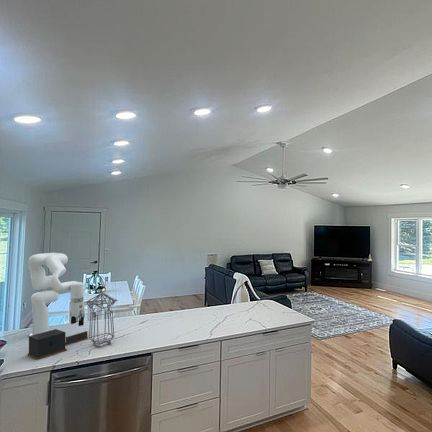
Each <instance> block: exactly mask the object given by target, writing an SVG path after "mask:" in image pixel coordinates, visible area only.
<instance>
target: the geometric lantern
mask: <svg viewBox="0 0 432 432" xmlns="http://www.w3.org/2000/svg"><path fill="white" fill-rule="evenodd" d="M107 299H108V300H109V302H107ZM118 301H119V300H118V299H116V298H115V297H112V296H111V295H109V294H107V293H105V292H101V293H99V294H96V295H95V296H94V297H92V298H90V299H89V300H87V301H85V303H86V304H87V306H88V307H89V310H90V315H89V316H90V317H89V330H88V339H89V340H90V341H91V342H92V343H93V345H94V346H95V347H96V348H101V347H105V346H108V345H111V341H112V340H113V339H114V338H115V327H114V311H113V308H112V306H114V305H115V303H116V302H118ZM104 305H106V306H104ZM93 307H94V308H93ZM97 307H98V308H100V310H98V311H95V309H96V308H97ZM106 308H107V309H106ZM103 311H104V313H101V314H99V313H100V312H103ZM107 311H108V312H107ZM96 313H97V314H96ZM99 316H104V333H101V334H99ZM94 317H96V318H94ZM109 317H110V318H109ZM93 322H94V323H93ZM106 325H107V326H106ZM106 327H107V328H106ZM96 328H97V329H96ZM106 329H108V332H106V331H107V330H106ZM110 329H111V330H110ZM95 331H96V333H97V334H96V333H95ZM110 332H111V333H110ZM103 335H104V336H103ZM106 335H107V336H106ZM99 336H103V338H99ZM108 336H111V337H109V338H108ZM95 338H97V339H96V340H95ZM104 343H107V344H104ZM96 344H97V345H96ZM101 344H103V345H101Z"/></svg>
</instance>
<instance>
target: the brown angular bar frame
mask: <svg viewBox="0 0 432 432" xmlns="http://www.w3.org/2000/svg"><path fill="white" fill-rule="evenodd" d="M87 339H88V330H85V331H81V332H78V333H75V334H72V335H69V336H68V335H67V336H65V346H68V345H71V344H74V343H78V342H80V341H84V340H87Z"/></svg>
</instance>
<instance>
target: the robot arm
mask: <svg viewBox="0 0 432 432" xmlns="http://www.w3.org/2000/svg"><path fill="white" fill-rule="evenodd" d="M68 262H69V257H68V256H67V254H65V253H61V252H43V253H36V254H32V255H31V256H30V257H28V260H27V265H28V269H29V271H30V275H31V276H30V278H31V288H32V289H33V290H35V291H38V292H35V293H33V294H32V295H31V296H30V303H31V308H32V309H31V311H32V322H31V323H32V324H31V325H32V328H31V329H32V332H31V333H29V336H32V335H35V334H39V333H43V332H47V331H51V330H50V329H49V308H48V307H47V305H46V304H50V303H55V302H57V301H58V300H59V297H60V295H64V294H68V293H70V310H69V316H70V325H74V324H77V318H78V327H82V326H84V325H85V323H84V322H85V315H86V310H85V303H84V282H82V281H76V280H71V281H64V282H61V281H60V279H59V278H60V277H61V276H63V275H64V274H65V273H66V272H67V268H66V267H65V265H66V264H67V263H68ZM43 266H47V268H48V270H49V271H50V273H51V274H52V275H46V270H45V268H44V267H43Z"/></svg>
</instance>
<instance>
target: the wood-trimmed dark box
mask: <svg viewBox="0 0 432 432" xmlns="http://www.w3.org/2000/svg"><path fill="white" fill-rule="evenodd" d="M65 343H66V331H63V330H61V329H57V328H55V329H51V330H50V331H47V332H43V333H39V334H35V335H32V336H30V335H29V336H28V353H27V356H28V357H31V358H33V359H34V360H41V359H44V358H48V357H50V356H53V355H57V354H59V353H63V352H66V351H67V348H66V345H65Z"/></svg>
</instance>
